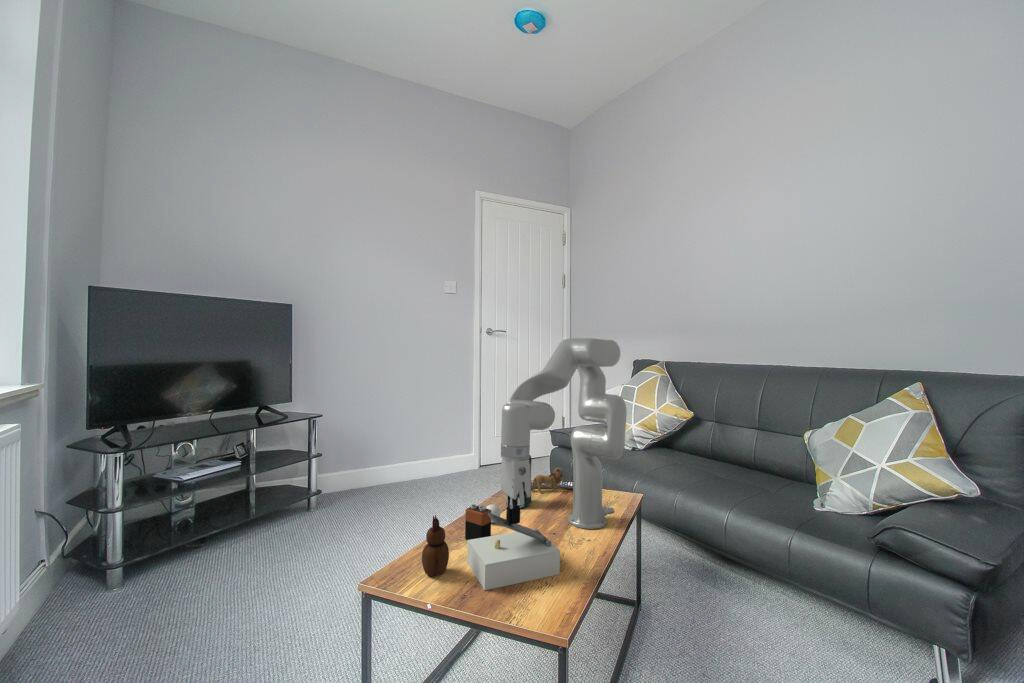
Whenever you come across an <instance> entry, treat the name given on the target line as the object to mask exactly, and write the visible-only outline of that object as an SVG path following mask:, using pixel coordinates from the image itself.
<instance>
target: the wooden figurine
mask: <svg viewBox="0 0 1024 683" xmlns="http://www.w3.org/2000/svg"><path fill="white" fill-rule="evenodd" d="M431 526H432V527H429V529H428V530H427V531H426V535H425V536H426V537H425V538H426V540H425V541H426V545H425V546H424V547H423V549H422V552H421V563H422V569H423V571H424V573H425V574H426V575H427V576H429V577H433V578H434V577H438V576H441V575H442V574H443V573H445V571H446V568H447V566H448V563H449V559H450V551H449V546H448V543H447V542H446V541H445V540H446V530H445V529H444V527H443V526H440V520H439V519H438V517H437V515H432V525H431Z"/></svg>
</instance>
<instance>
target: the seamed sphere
mask: <svg viewBox="0 0 1024 683" xmlns="http://www.w3.org/2000/svg"><path fill="white" fill-rule="evenodd" d="M485 507H486V509H490V510H491V514H494V515H496V516H499V517H501V509H500V507H499V506H498V505H496V504H493V503H492V504H488V505H487V506H485ZM494 523H495V522H494V521H493V520H492V519H491V524H494Z"/></svg>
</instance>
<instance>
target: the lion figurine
mask: <svg viewBox="0 0 1024 683" xmlns="http://www.w3.org/2000/svg"><path fill="white" fill-rule="evenodd" d="M564 474H565V473H564V469H563V468H561V467H557V468H554V470H553V472H551V473H550V474H548V475H545V474H544V475H543V474H538V475H536V476H534V478H533V480H532V482H531V492H536V489H534V488H535V487H537V490H538V492H539V493H540V494H544V491H542V489H541V488H542V485H546V486H550V489H551V488H553V489H554V490H553V491H555V492H554V493H556V492H557V491H558V490H557V488H558V487H557V486H558V484H560V483H561V482H562V480H563V479H564V478H563V477H564ZM557 493H558V492H557Z"/></svg>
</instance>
